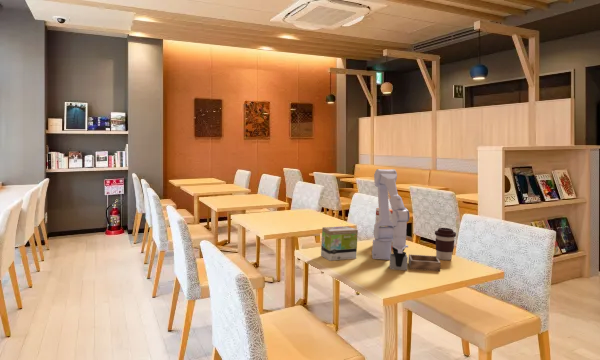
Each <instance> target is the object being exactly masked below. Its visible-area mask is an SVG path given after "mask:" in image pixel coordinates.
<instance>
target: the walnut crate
mask: <svg viewBox="0 0 600 360" xmlns="http://www.w3.org/2000/svg"><path fill="white" fill-rule="evenodd" d="M407 264H408V266H409V268H410V270H416V271H417V270H418V271H432V272H440V271H441V261H440V259H438V258H437V256H436V255H422V254H410V253H409V254H408V260H407Z"/></svg>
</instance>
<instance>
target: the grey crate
mask: <svg viewBox="0 0 600 360" xmlns="http://www.w3.org/2000/svg"><path fill="white" fill-rule="evenodd" d="M408 260H409V256H408V255H407V253H406V255H405V256H404V258H403V262H402V266H401V267H397V266H396V260H395V255H394V253H393V252H391V253H390V260H389V269H390V270H394V271H395V270H396V271H408Z"/></svg>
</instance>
